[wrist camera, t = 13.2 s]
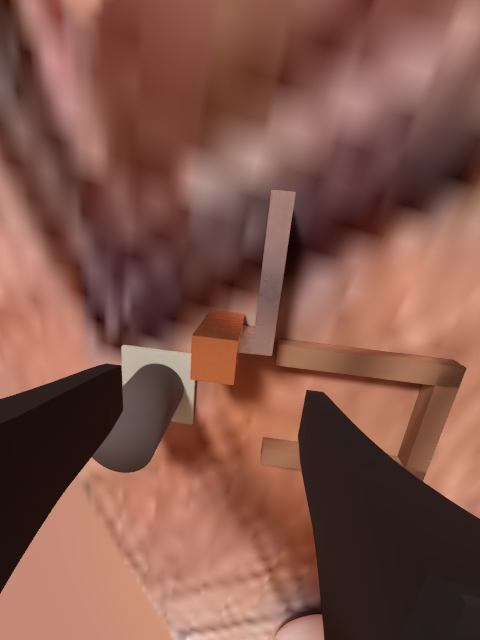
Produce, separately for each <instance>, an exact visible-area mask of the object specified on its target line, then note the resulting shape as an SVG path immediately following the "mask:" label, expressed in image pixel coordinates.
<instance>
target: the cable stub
mask: <svg viewBox="0 0 480 640" xmlns="http://www.w3.org/2000/svg"><path fill="white" fill-rule="evenodd" d="M122 392H123V412H122V414H121V415H120V417H119V419H118V421H117V422H116V424H115V426H114V427H113V429H112V431H111V432H110V434H109V435H108V436H107V438H106V439H105V440H104V442H103V443H102V444H101V445H100V447H99V448H98V449H97V451H96V452H95V453H94V454H93V456H92V457H93V458H94V459H95V460H96V461H97V462H98V463H99V464H101V465H102V466H104V467H106V468H108V469H110V470H113V471H117V472H124V473H129V472H135V471H138V470H140V469H142V468H144V467H145V466H146V465H147V464H148V463H149V462H150V460H151V458H152V456H153V454H154V452H155V450H156V449H157V447H158V445H159V443H160V441H161V439H162V437H163V435H164V433H165V431H166V429H167V427H168V425H169V423H170V421H171V419H172V417H173V415H174V413H175V411H176V409H177V407H178V405H179V403H180V401H181V399H182V397H183V394H184V386H183V382H182V380H181V378H180V376H179V375H178V374H177V373H176V372H175V371H174V370H173V369H171V368H170V367H168V366H166V365H163V364H156V363H154V364H148V365H145V366H143V367H141V368H140V369H139V370H138V371H137V372H136V373H135V374H134V375H133V376H132V377H131V378H130V379H129V380H128V381H127V383H126V384H125V385H124V386H123V387H122Z"/></svg>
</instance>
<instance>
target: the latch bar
mask: <svg viewBox="0 0 480 640" xmlns="http://www.w3.org/2000/svg"><path fill="white" fill-rule="evenodd" d="M295 193H296V192H291V191H280V190H272V191H271V198H270V206H269V215H268V223H267V231H266V239H265V248H264V256H263V264H262V273H261V281H260V289H259V298H258V306H257V314H256V322H255V327H252V326H244V317H245V314H236V313H228V312H219V311H211V310H210V312H209V313H208V314H207V316H206V317H205V319H204V320H203V321H202V323H201V324H200V325H199V327H198V328H197V329H196V331H195V332H194V333H193V335H192V349H191V370H190V380H197V381H205V382H212V383H220V384H227V385H234V380H235V375H236V370H237V366H238V361H239V356H240V353H247V354H259V355H267V356H272V352H273V345H274V338H275V331H276V324H277V317H278V310H279V303H280V297H281V290H282V283H283V276H284V269H285V262H286V255H287V248H288V241H289V235H290V228H291V221H292V214H293V207H294V200H295Z"/></svg>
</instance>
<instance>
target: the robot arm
mask: <svg viewBox="0 0 480 640" xmlns="http://www.w3.org/2000/svg"><path fill="white" fill-rule="evenodd" d="M122 412H123V392H122V370H121V366H120V365H113V364H103V365H99V366H96V367H93V368H90V369H87V370H84V371H81V372H79V373H76V374H73V375H70V376H68V377H65V378H62V379H60V380H57V381H54V382H51V383H49V384H46V385H43V386H40V387H37V388H34V389H31V390H28V391H25V392H22V393H19V394H16V395H13V396H9V397H6V398H3V399H0V593H1V591H2V590H3V588H4V586H5V585H6V583H7V581H8V579H9V578H10V576H11V574H12V572H13V571H14V569H15V567H16V566H17V564H18V563H19V561H20V559H21V558H22V556H23V554H24V553H25V551H26V550H27V548H28V546H29V545H30V543H31V542H32V540H33V538H34V537H35V535H36V533H37V532H38V530H39V529H40V527H41V526H42V524H43V523H44V521H45V520H46V518H47V516H48V515H49V513H50V512H51V510H52V508H53V507H54V506H55V504H56V503H57V501H58V500H59V498H60V497H61V496H62V494H63V493H64V492H65V490H66V489H67V487H68V486H69V485H70V483H71V482H72V481H73V480H74V479H75V477H76V476H77V475H78V473H79V472H80V471H81V470H82V468H83V467H84V466H85V465H86V463H87V462H88V461H89V459H90V458H91V457H92V456H93V454H94V453H95V452H96V451H97V449H98V448H99V447H100V445H101V444H102V443H103V442H104V440H105V439H106V438H107V436H108V435H109V434H110V432H111V431H112V429H113V427H114V426H115V424H116V422H117V421H118V419H119V417H120V415H121V414H122ZM298 441H299V456H300V464H301V470H302V475H303V480H304V486H305V491H306V496H307V501H308V506H309V511H310V516H311V521H312V527H313V533H314V539H315V547H316V557H317V566H318V576H319V586H320V597H321V608H322V619H323V630H324V640H480V519H479V518H477V517H476V516H474V515H472V514H471V513H469V512H467V511H466V510H464V509H463V508H461V507H460V506H458V505H456V504H455V503H453V502H452V501H450V500H449V499H447V498H446V497H444V496H443V495H441V494H440V493H439V492H437V491H436V490H434V489H433V488H431V487H430V486H428V485H427V484H425V483H424V482H423V481H421V480H420V479H418V478H417V477H416V476H414V475H413V474H412V473H410V472H409V471H408V470H406V469H405V468H404V467H403V466H401V465H400V464H399V463H398V462H396V461H395V460H394V459H392V458H391V457H390V456H389V455H388V454H386V453H385V452H384V451H383V450H382V449H380V448H379V447H378V446H377V445H376V444H375V443H374V442H373V441H372V440H370V439H369V438H368V437H367V436H366V435H365V434H364V433H363V432H362V431H361V430H360V429H359V428H358V427H357V426H356V425H355V424H354V423H353V422H352V421H351V420H350V419H349V418H348V417H347V416H346V415H345V414H344V413H343V412H342V411H341V410H340V409H339V408H338V407H337V406H336V405H335V404H334V403H333V402H332V400H331V399H330V398H329V397H328V396H327V395H326V394H325V393H324V392H318V391H311V390H307V391H306V396H305V402H304V407H303V412H302V417H301V423H300V428H299V433H298Z"/></svg>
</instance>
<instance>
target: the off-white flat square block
mask: <svg viewBox="0 0 480 640" xmlns="http://www.w3.org/2000/svg"><path fill="white" fill-rule="evenodd" d="M121 347H122V374H123V386H124V385H125V384H126V383H127V381H128V380H129V379H130V378H131V377H132V376H133V375H134V374H135V373H136V372H137V371H138V370H139V369H140V368H141V367H143V366H145V365H148V364H154V363H156V364H163V365H166V366H168V367H170V368H171V369H173V370H174V371H175V372H176V373H177V374H178V375H179V376H180V378H181V380H182V382H183V386H184V394H183V397H182V399H181V401H180V403H179V405H178V407H177V409H176V411H175V413H174V415H173V417H172V419H171V421H170V422H177V423H184V424H191V425H192V424H193V418H194V400H195V381H196V380H190V370H191V353H184V352H176V351H168V350H160V349H153V348H145V347H137V346H129V345H123V346H121Z"/></svg>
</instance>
